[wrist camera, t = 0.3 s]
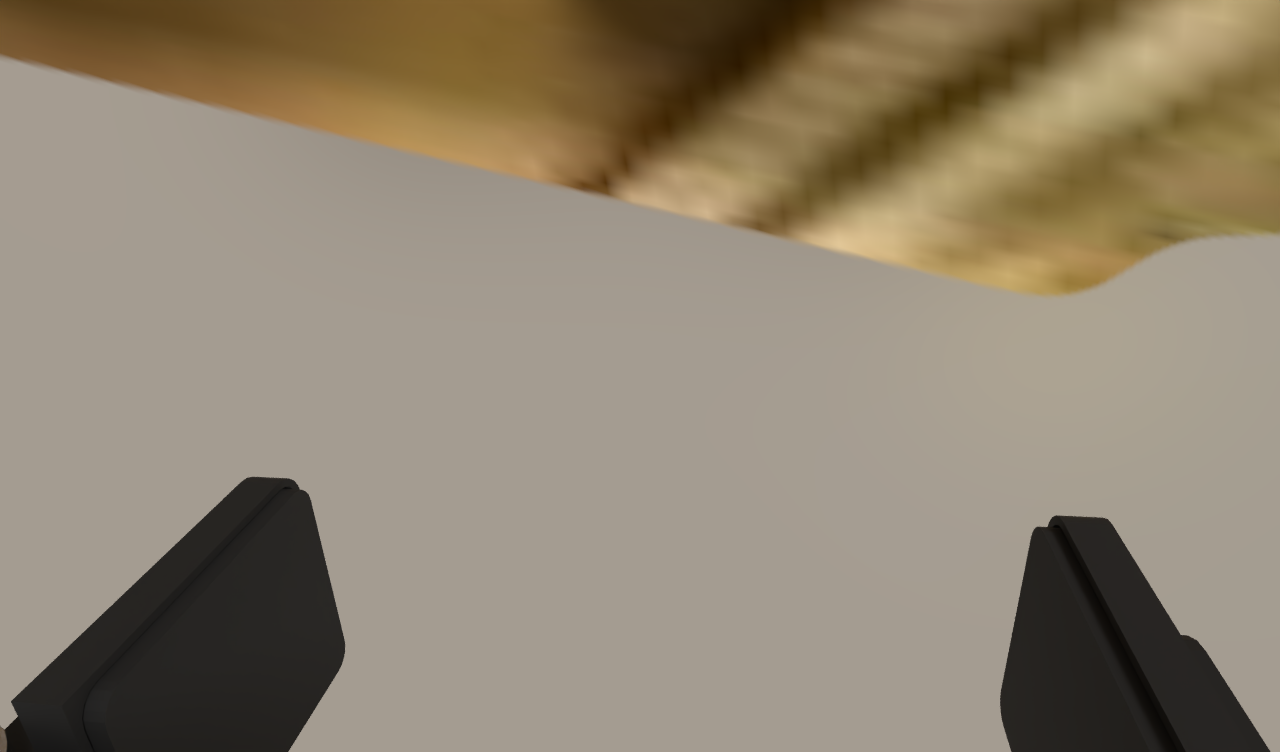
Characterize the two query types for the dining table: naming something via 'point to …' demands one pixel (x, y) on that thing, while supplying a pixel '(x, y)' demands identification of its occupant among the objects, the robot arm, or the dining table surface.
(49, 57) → the dining table surface
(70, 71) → the dining table surface
